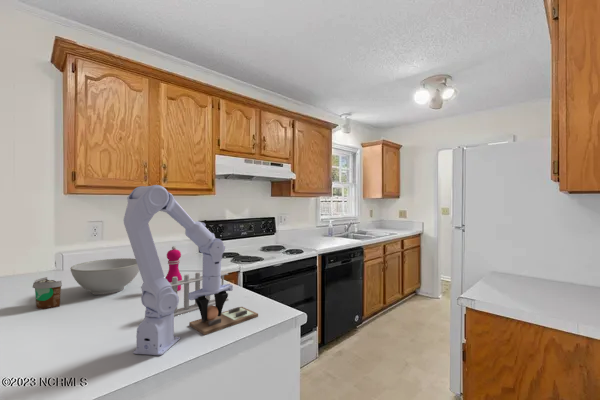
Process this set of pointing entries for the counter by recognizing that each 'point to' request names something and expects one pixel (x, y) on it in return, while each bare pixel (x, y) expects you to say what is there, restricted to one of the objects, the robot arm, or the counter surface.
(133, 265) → the decorative bowl
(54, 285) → the food container
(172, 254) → the pepper mill
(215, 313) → the terracotta ball
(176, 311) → the test tube rack
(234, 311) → the cradle board
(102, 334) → the counter surface
